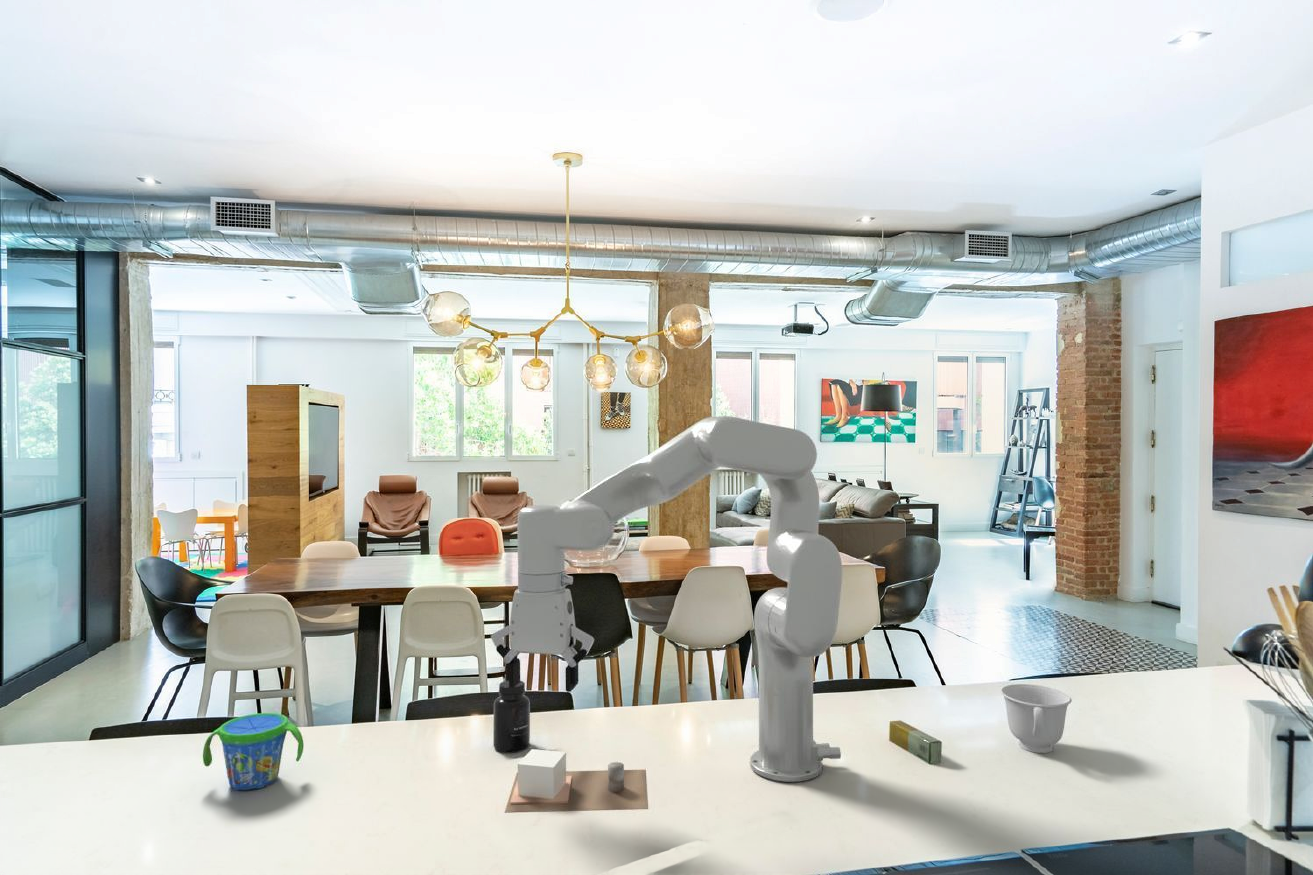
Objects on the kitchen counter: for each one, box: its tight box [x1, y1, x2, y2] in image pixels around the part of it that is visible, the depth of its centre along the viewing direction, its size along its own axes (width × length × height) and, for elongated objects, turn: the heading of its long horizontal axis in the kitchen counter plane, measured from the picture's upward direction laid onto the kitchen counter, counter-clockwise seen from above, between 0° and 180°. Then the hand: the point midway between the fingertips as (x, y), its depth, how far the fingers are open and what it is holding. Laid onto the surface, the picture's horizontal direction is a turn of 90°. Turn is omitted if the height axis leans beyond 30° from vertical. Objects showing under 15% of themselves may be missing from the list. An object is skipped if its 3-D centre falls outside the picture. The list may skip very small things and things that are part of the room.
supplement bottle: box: [492, 680, 531, 754], centre depth 149 cm, size 7×7×12 cm
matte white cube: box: [517, 748, 567, 799], centre depth 128 cm, size 6×6×5 cm
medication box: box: [888, 719, 943, 766], centre depth 146 cm, size 12×3×4 cm, turn 21°
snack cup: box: [202, 712, 304, 791], centre depth 134 cm, size 16×10×10 cm
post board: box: [504, 761, 649, 813], centre depth 128 cm, size 22×14×5 cm, turn 92°
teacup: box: [1000, 683, 1073, 754], centre depth 146 cm, size 12×15×10 cm
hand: (542, 687), depth 128 cm, fingers open, 9 cm apart
